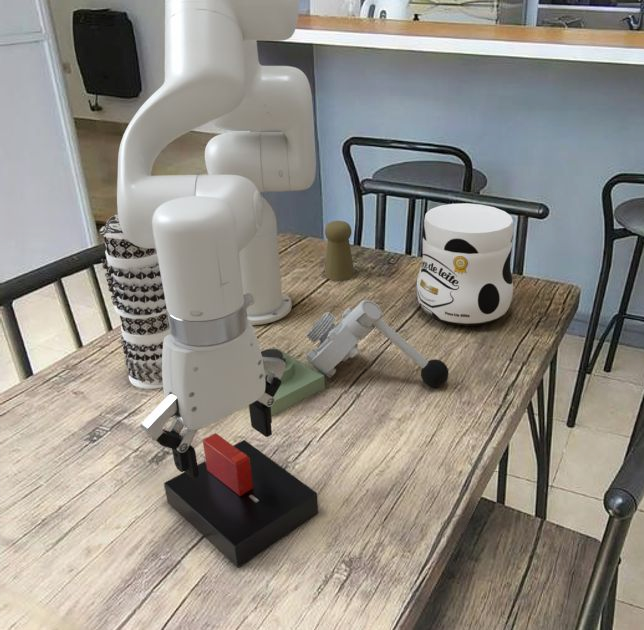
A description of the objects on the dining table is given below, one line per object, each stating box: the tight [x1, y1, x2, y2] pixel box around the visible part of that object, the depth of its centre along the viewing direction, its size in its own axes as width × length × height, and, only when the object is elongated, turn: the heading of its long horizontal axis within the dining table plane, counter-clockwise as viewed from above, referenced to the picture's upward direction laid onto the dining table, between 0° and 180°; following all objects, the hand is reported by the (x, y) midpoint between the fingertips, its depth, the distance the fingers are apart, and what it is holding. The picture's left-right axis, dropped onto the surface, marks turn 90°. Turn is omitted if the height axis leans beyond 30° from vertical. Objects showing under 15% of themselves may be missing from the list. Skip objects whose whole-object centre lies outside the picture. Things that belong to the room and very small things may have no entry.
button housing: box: [264, 346, 326, 417], centre depth 100 cm, size 12×10×4 cm
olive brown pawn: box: [324, 220, 355, 282], centre depth 135 cm, size 6×6×11 cm
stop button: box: [261, 348, 283, 360], centre depth 99 cm, size 4×4×2 cm
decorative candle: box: [99, 213, 171, 390], centre depth 98 cm, size 9×9×25 cm
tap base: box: [163, 439, 319, 568], centre depth 78 cm, size 14×11×3 cm
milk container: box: [415, 202, 514, 327], centre depth 120 cm, size 17×17×18 cm
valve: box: [304, 299, 450, 388], centre depth 103 cm, size 10×20×15 cm
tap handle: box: [202, 432, 253, 496], centre depth 78 cm, size 6×2×5 cm, turn 49°
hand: (226, 450), depth 77 cm, fingers open, 9 cm apart
